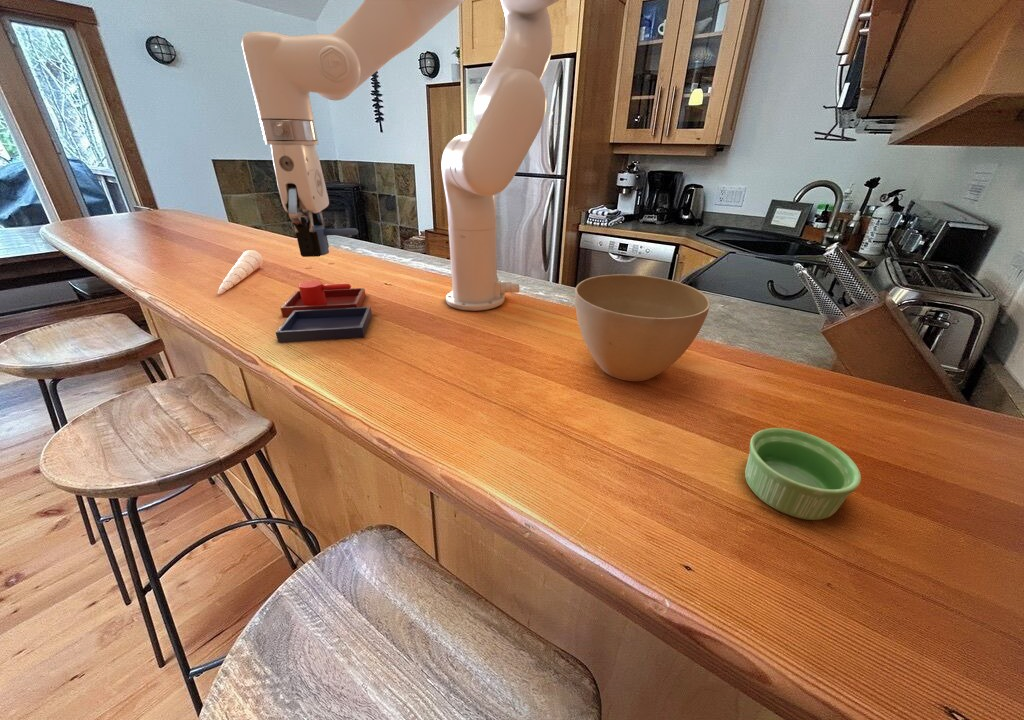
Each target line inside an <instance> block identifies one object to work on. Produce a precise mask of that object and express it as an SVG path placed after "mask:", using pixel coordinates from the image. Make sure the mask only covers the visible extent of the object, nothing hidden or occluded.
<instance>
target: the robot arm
mask: <svg viewBox="0 0 1024 720" xmlns="http://www.w3.org/2000/svg"><path fill="white" fill-rule="evenodd" d="M464 1H465V0H363V2H362V3H361V4H360V5H359V7H358V8H357V9H356V10H355V11H354V12H353V14H352V15H351V16H350V17H349V18H348V19H346V21H344V22H343V23H342V24H341V25H340V26H339V27H338V28H336V30H334V31H333V32H332V33H331V34H329V33H316V34H301V35H286V34H283V33H280V32H273V31H260V30H256V31H254V30H253V31H249V32H246V33H245V34H244V35H243V36H242V37H241V49H242V52H243V57H244V61H245V65H246V69H247V73H248V74H247V75H248V77H249V82H250V85H251V90H252V94H253V97H254V102H255V106H256V111H257V115H258V118H259V123H260V127H261V131H262V135H263V140H264V143H265V145H270V150H271V157H272V163H273V169H274V173H275V178H276V184H277V189H278V193H279V197H280V200H281V204H282V207H283V209H284V211H285V212H286V213H288V218H289V219H290V220H291V222H292V224H293V228H294V229H293V230H294V233H295V237H296V240H297V245H298V249H299V253H300V256H301V257H303V258H314V257H315V258H316V257H317V258H318V257H322V256H321V249H320V244H319V239H318V234H317V232H314V225H319V226H324V229H326V226H325V219H324V217H323V210H325V209H326V208H328V207H329V205H330V199H329V195H328V190H327V187H326V181H325V178H324V173H323V169H322V164H321V161H320V158H319V154H318V151H317V148H316V146H318V145H319V139H318V134H317V128H316V123H315V118H314V112H313V106H312V101H311V97H310V93H315V94H316V93H317V94H318V95H319V96H321V97H323V98H324V99H327V100H330V101H342V100H345V99H346V98H348V97H349V96H350V95H351V94H352V93H353V92H355V91H356V90H357V89H358V88H360V86H361V85H363V84H364V83H365V82H366V81H367V80H368V79H370V78H371V77H372V76H373V75H374V74H376V73H377V71H379V70H380V69H381V68H382V67H384V66H385V65H386V64H387V63H389V62H390V61H391V60H392V59H394V58H395V57H396V56H398V55H399V54H401V53H403V52H404V51H406V50H408V49H409V48H411V47H412V46H413V45H414V44H415V43H417V42H418V41H419V40H420V39H422V38H423V37H424V36H425V35H426V34H427V33H429V32H430V30H432V29H433V28H434V27H436V26H437V25H438V24H439V23H440V22H441V21H442V20H443V19H444V18H447V16H448V15H449V14H450V13H452V12H453V11H454V10H455V9H456V8H457V7H459V6H460V5H461V4H462V3H463V2H464ZM559 1H560V0H500V3H501V6H502V10H503V12H504V18H505V27H506V28H505V34H504V38H503V40H502V43H501V46H500V48H499V50H498V53H497V54H496V56H495V58H494V60H493V63H492V64H491V66H490V68H489V71H488V72H487V73H486V76H485V78H484V80H483V82H482V83H481V85H480V87H479V89H478V90H477V93H476V95H475V99H474V102H473V116H474V120H475V123H476V127H475V129H474V131H473V132H472V133H464V134H460V135H457V136H455V137H453V138H452V139H451V140H450V141H448V143H447V144H446V146H445V147H444V149H443V153H442V156H441V163H440V166H441V178H442V183H443V189H444V195H445V201H446V212H447V225H448V226H447V227H448V230H447V231H448V242H449V244H448V245H449V257H450V272H451V287H452V288H451V291H450V292H448V293H447V294H446V296H445V303H446V304H447V305H448V306H449V307H451V308H453V309H455V310H460V311H470V312H471V311H472V312H475V311H477V312H479V311H486V310H492V309H495V308H497V307H499V306H501V305H503V303H504V302H505V297H506V296H505V294H506V293H510V294H517V293H520V283H512V281H511V280H510V281H501V280H500V279H499V277H498V256H497V255H498V249H497V245H498V244H497V224H498V223H497V206H496V200H495V199H496V198H495V196H496V195H498V194H500V193H502V192H503V191H504V190H505V189H506V188H507V187H508V186H509V185H510V183H511V182H512V181H513V179H514V178H515V176H516V174H517V172H518V170H519V168H520V167H521V165H522V163H523V161H524V160H525V157H526V156H527V154H528V152H529V150H530V149H531V147H532V145H533V143H534V141H535V139H536V137H537V136H538V134H539V132H540V130H541V128H542V126H543V123H544V120H545V117H546V113H547V112H546V111H547V95H546V91H545V88H544V86H543V83H542V82H541V80H542V78H543V76H544V74H545V72H546V69H547V67H548V64H549V62H550V60H551V55H552V51H553V50H552V49H553V33H552V25H551V19H550V14H549V10H548V7H550V6H552V5H554V4H555V3H557V2H559ZM301 210H302V211H301ZM326 239H327V244H328V249H329V247H330V246H329V240H328V236H326Z"/></svg>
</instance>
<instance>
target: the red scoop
mask: <svg viewBox="0 0 1024 720" xmlns="http://www.w3.org/2000/svg"><path fill="white" fill-rule="evenodd" d="M340 289H352V285H351V284H350V283H331V284H323V282H322V281H320V280H309V281H304V282H301V283H299V284H298V290H299V291H300V293H301V297H302V301H303V305H304V306H311V305H326V304H327V302H326V298H325V293H324V290H340Z"/></svg>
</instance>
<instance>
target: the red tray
mask: <svg viewBox="0 0 1024 720" xmlns="http://www.w3.org/2000/svg"><path fill="white" fill-rule="evenodd" d="M324 293H325V298H326V302H327V304H326V305H311V306H304V305H303V301H302V297H301V293H300V290H296V291H295V292H294V293H292V295H291V296H290V297H289V298H288V299H287V300H286V301H285V302H284V304H282V305H281V307H280V312H281V315H282V318H288V317H289V316H290V315H291V314H292V312H293V311H297V310H317V309H337V308H357V307H362V305H363V303H364V301H365V299H366V296H367V295H366V289H365V287H359V288H358V287H356V288H355V287H353V288H352V287H351V288H350V289H340V290H324Z"/></svg>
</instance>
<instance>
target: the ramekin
mask: <svg viewBox="0 0 1024 720" xmlns="http://www.w3.org/2000/svg"><path fill="white" fill-rule="evenodd" d="M748 453H749V454H748V456H747V457H748V458H747V460H746V461H747V462H746V465H745V471H744V476H745V481H746V484H747V486H748V487H749V488H750V490H751V491H752V492H753V493H754V494H755V495H756V496H757V497H758V499H760V501H762V502H764V503H765V504H766V505H767V506H769V507H771V508H773V509H775V510H776V511H778V512H780V513H783V514H785V515H788V516H790V517H793V518H797V519H802V520H807V521H808V520H809V521H818V520H819V521H820V520H824V519H828V518H830V517H832V516H833V515H834V514H836V512H837V511H838V510H839V509H840V507H841V506H842V505H843V503H844V502H845V500H846V499H847V498H848V497H849V495H850V494H853V492H854V491H855V490H856V489H857V488H858V487H859V486H860V484H861V481H862V475H861V471H860V469H859V467H858V466H857V464H856V463H855V461H854V460H853V459H852V458H851V457H850V456H849V455H848V454H846V453H845V451H843V450H842V449H840V448H839V447H837V446H835V445H834V444H833V443H831V442H828V441H827V440H826V439H823V438H821V437H818V436H816V435H813V434H811V433H808V432H804V431H801V430H797V429H792V428H786V427H785V428H784V427H770V428H764V429H760V430H758V431H757V432H755V433H754V434H753V435H752V436H751V438H750V442H749V452H748Z"/></svg>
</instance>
